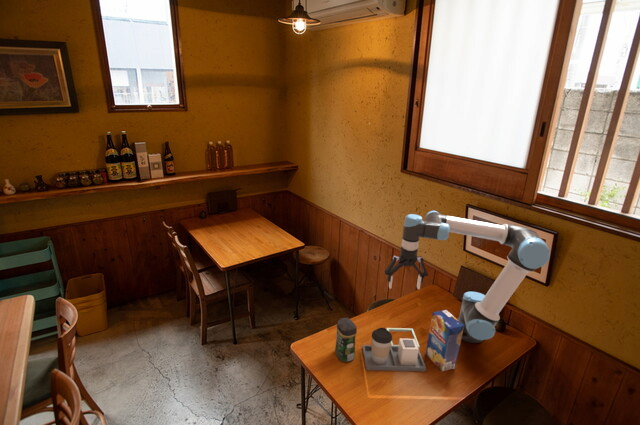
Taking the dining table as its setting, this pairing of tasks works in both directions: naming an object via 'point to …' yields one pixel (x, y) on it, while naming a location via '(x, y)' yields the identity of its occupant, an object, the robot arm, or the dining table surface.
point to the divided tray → (391, 361)
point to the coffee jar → (345, 339)
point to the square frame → (404, 331)
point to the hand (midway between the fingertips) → (404, 287)
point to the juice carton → (444, 340)
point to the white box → (407, 351)
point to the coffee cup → (381, 345)
